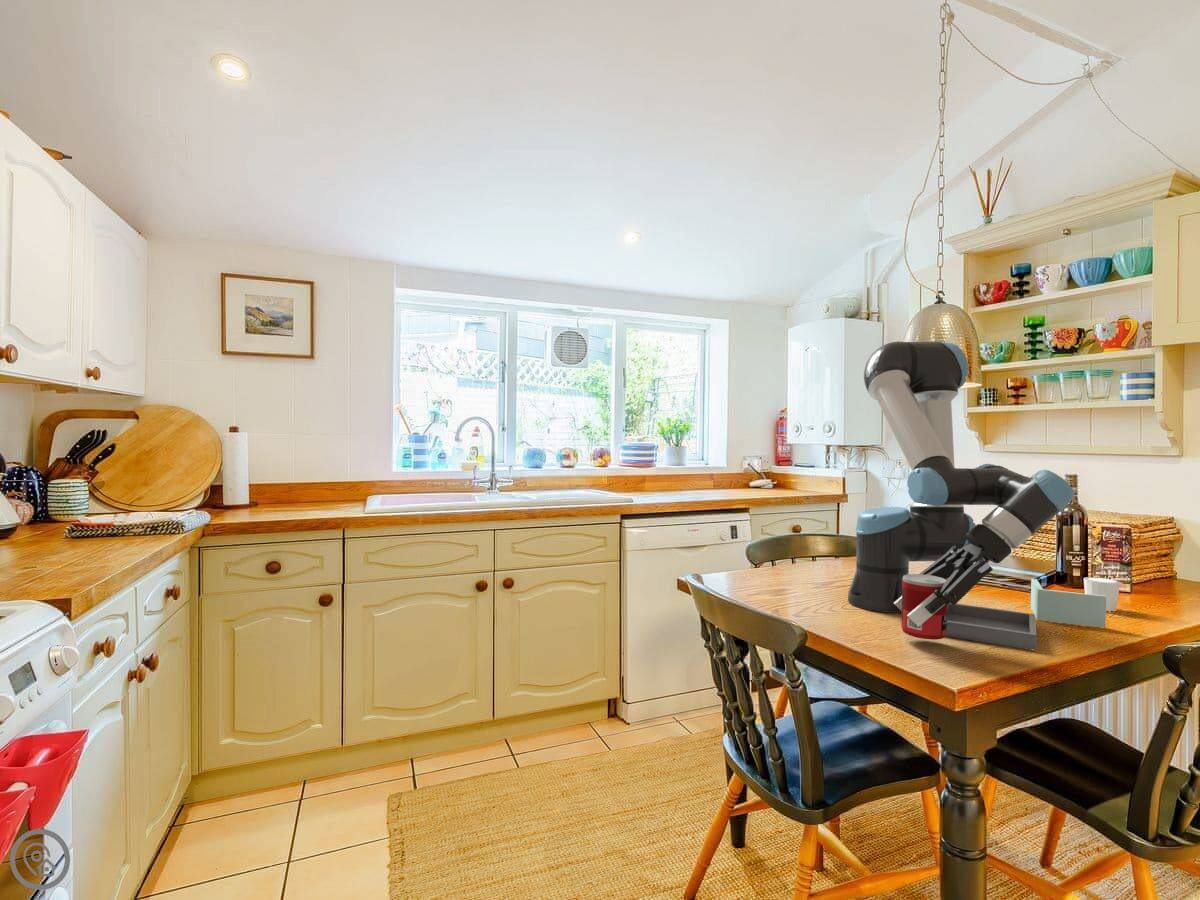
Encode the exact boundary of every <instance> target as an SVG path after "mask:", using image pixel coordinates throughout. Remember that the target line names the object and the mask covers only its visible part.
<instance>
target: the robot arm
mask: <svg viewBox="0 0 1200 900" xmlns="http://www.w3.org/2000/svg"><path fill="white" fill-rule="evenodd" d="M968 375H969V363H968V358H967V355H966V354H965V352H964V350H963V349H962V348H960V347H959V346H958V345H957V344H955V343H952V342H943V341H938V340H937V341H891V342H888V343H885V344H883V345H881V346H879V347H878V348H877V349H875V351H874V352H872V353H871V354H870V357H869V358H868V360H867V362H866V364H865V367H864V371H863V379H864V380H863V381H864V385H865V388H866V391H867V392H868V394H869V396H870V397H871V399H873V400H875V401H877V403H878V404H879V407H880V408H881V410H882V413H883V414H884V417H885V418H886V421H887V423H888V425H889V427H890V429H891V431H892V433H893V435H894V437H895V439H896V441H897V442H898V445H899V447H900V449H901V451H902V453H903V455H904V458H905V459H906V462H907V463H908V465H909V467H910V470H911V472H910V473H909V475H908V477H907V483H906V487H907V489H908V491H907V493H908V496H909V497H910V499H911V500H912V501H913V502H912V503H911V504H910V505H909V509H908V508H907V507H902V506H901V507H900V506H890V507H888V506H885V507H881V506H880V507H875V508H869V509H864V510H863V511H860V513H859V514H858V515H857V520H856V528H855V533H856V539H855V543H856V545H855V547H856V549H855V550H856V551H855V552H856V553H855V554H856V562H855V563H856V564H855V566H856V568H855V572H854V573H855V574H854V576H853V577H852V581H851V583H850V585H849V589H848V593H847V602H848V603H849V604H851V605H852V606H855V607H857V608H860V609H861V608H862V609H865V610H869V611H876V612H884V613H902V579H903V576H904V575H908V574H909V569H910V567H909V565H910V562H932V563H931V564H930V565H929V566H927V568H925V569H924V570H922V571H921V572H920V573H919V574H923V575H931V576H937V577H941V578H944V579H946V580H947V581H946V582H945V583H944V585H943V586H942V587H941V588H940V590H934V591H933V592H934V593H935V594H936V595H937V596H936V595H935V594H934V593H932V594H931V595H930V596H929V597H928V598H926V599H925V600H924V601H923V602H922V603H921V604H920V605H918V606H917V607H916V608H915V609H914V610H913V611H911V612H910V613H909V614H908V615H907V616H908V617H909V618H910V619H911V620H912V621H913V622H914V623H915V624H916V625H917V626H918V627H919V626H920V625H921V624H923V623H924V622H925V621H926V620H927V619H928V618H930V617H931V616H932V615H933V614H934V613H935V612H937V611H938V610H939V609H940V608H941V607H943V606H944V605H945V604H949V603H951V604H952V605H955V604H958V603H959V601H961V600H962V599H963V598H964V597H965V596H966V594H968V593H969V592H970V591H971V590H972V589H973V587H975V586H976V585H977V584H978V583H979V582H980V581H981V580H982V579H983V578H984V577H985V576H987V575H989V574H990V573H991V572H992V571H994V568H993V567H992V566H991V565H990V564H989V562H990V561H991V563H993V564H1000V563H1001V562H1002V561H1003V560H1005V559H1006V558H1007V557H1008V556H1009V555H1011V553H1012V549H1017V548H1018V547H1019V546H1021V545H1023V544H1026V543H1027V540H1028V539H1029V538H1030V537H1031V536H1033V535H1034V534H1035V533H1036V532H1038V531H1039V530H1040V529H1041V528H1042V527H1043V526H1045V525H1046V524H1047V523H1048V522H1050V520H1052V519H1053V518H1054V517H1055V516H1056V515H1057V514H1059V513H1060V512H1062V511H1063V509H1065V508H1066V507H1067V506H1068V505H1069V504H1070V503H1071V502H1072V501H1073V500H1074V498H1075V496H1076V493H1075V490H1074V488H1073V487H1072V485H1071V484H1070V483H1068V481H1066V480H1065V478H1063V477H1061V476H1060V475H1059V474H1057V473H1055V472H1053V471H1051V470H1049V469H1048V470H1047V469H1041V470H1039V471H1037V472H1036V473H1034V474H1032V476H1031V477H1029V476H1025V475H1023V474H1020V473H1018V472H1015V471H1013V470H1010V469H1009V468H1007V467H1004V466H1003V465H996V464H993V463H984V464H982V465H979V466H977V467H975V468H966V467H965V468H963V467H962V468H960V467H959V468H957V467H955V454H954V453H955V452H954V449H955V448H954V447H955V446H954V432H953V429H954V428H953V427H954V426H953V411H952V410H953V409H952V401H953V400H954V399H955V398H956V397H957V396H958V394H959V390H958V389H960V388H962V387H963V386H964V385H965V383H966V382H967V379H966V378H967V377H968ZM965 505H967V506H996V507H995V508H994V509H993V510H992V511H990V512H989V513H987V515H986V516H985V517H984V518H982V519H981V523H979V524H976V523H975V522H974V518H973V517H972V516H971V515H970V514H968V513H965Z"/></svg>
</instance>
